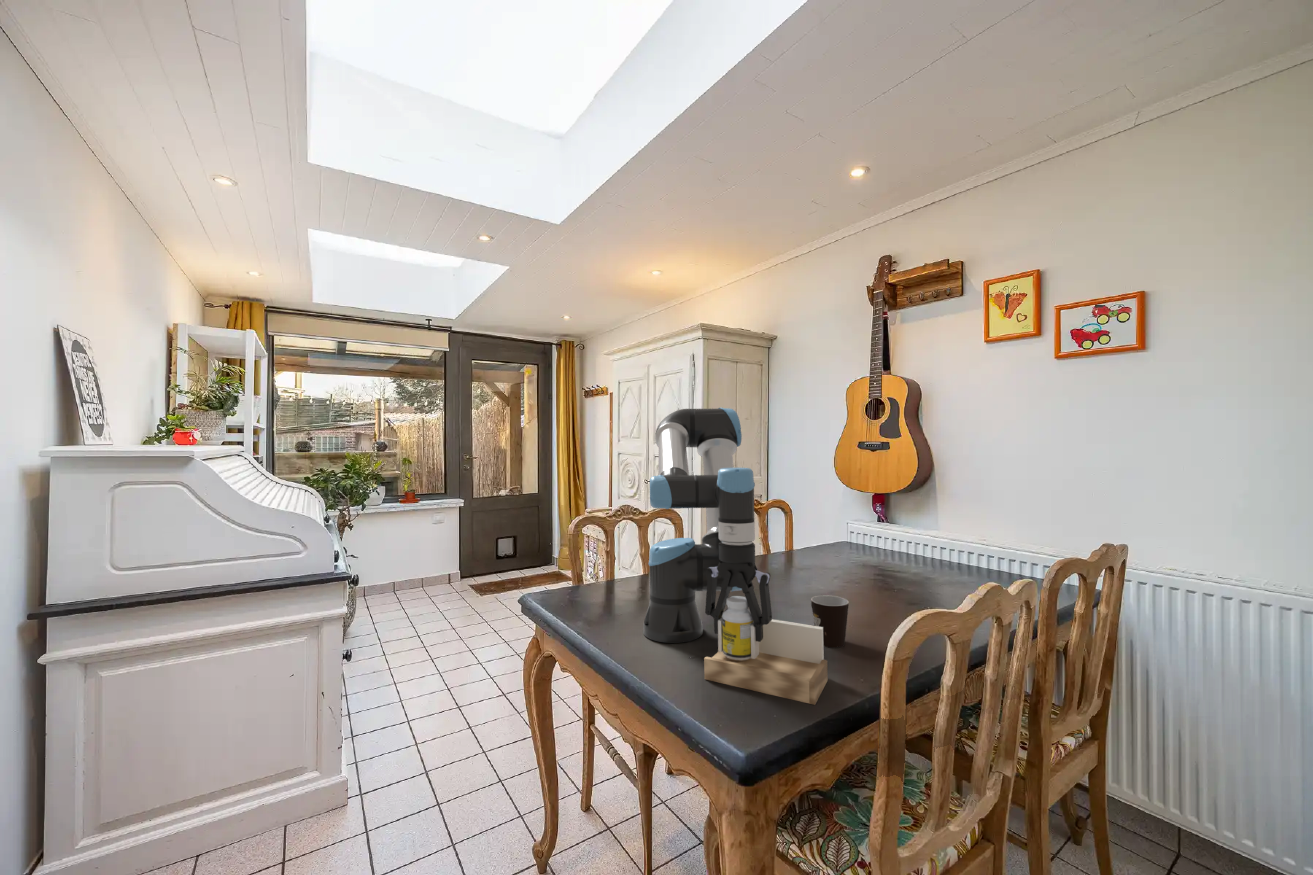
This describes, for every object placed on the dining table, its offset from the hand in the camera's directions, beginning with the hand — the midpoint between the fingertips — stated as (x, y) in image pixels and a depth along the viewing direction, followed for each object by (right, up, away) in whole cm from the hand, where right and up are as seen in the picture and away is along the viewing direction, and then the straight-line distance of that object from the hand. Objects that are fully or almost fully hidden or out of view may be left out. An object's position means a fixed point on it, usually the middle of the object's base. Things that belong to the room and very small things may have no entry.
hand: (738, 652), depth 107 cm
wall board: (+8, -4, +2) cm, 9 cm away
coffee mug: (+25, -4, +17) cm, 31 cm away
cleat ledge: (+5, -4, -3) cm, 7 cm away
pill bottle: (0, -1, 0) cm, 1 cm away
